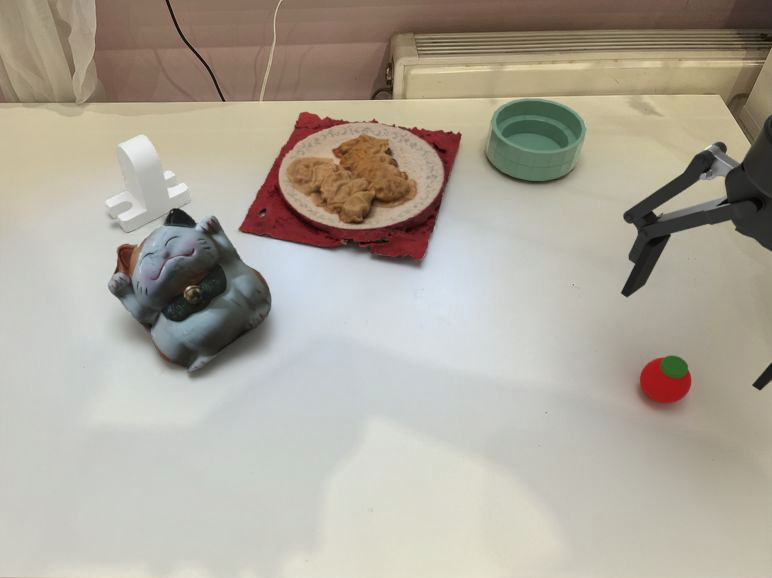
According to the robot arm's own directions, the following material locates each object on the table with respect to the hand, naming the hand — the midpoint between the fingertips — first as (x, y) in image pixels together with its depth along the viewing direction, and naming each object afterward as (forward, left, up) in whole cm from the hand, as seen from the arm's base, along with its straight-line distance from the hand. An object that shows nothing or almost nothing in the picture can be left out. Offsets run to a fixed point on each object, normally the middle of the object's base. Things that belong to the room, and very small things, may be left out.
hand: (694, 332), depth 63 cm
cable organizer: (+59, -27, -10) cm, 65 cm away
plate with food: (+32, -32, -10) cm, 46 cm away
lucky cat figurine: (+49, -7, -10) cm, 50 cm away
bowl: (+8, -39, -10) cm, 41 cm away
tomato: (0, 0, -10) cm, 10 cm away
